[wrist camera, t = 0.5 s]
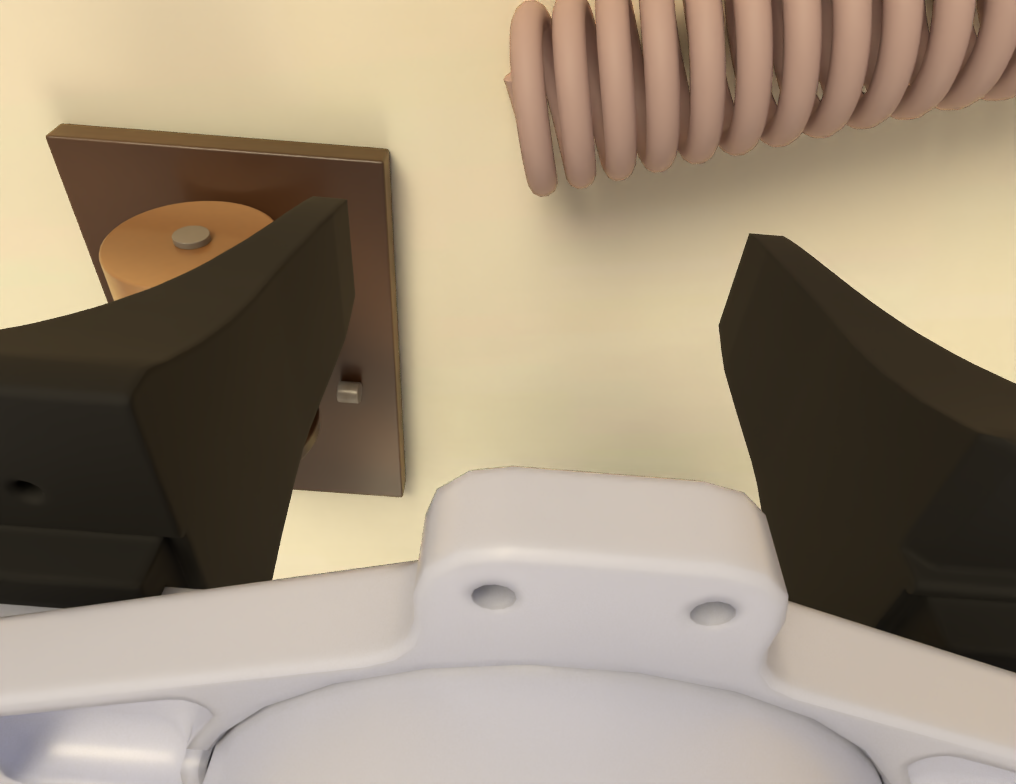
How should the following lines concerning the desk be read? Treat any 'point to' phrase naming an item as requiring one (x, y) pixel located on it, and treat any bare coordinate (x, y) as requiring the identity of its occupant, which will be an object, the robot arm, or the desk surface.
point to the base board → (274, 191)
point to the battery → (178, 249)
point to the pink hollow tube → (738, 75)
